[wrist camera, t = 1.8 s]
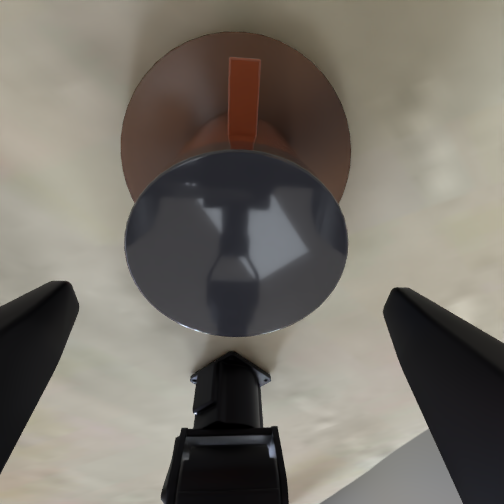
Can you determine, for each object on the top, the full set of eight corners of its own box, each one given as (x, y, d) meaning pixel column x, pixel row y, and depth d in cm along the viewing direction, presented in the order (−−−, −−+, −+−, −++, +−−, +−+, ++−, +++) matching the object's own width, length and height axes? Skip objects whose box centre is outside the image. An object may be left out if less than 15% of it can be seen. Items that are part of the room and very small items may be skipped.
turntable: (383, 178, 18) (391, 183, 17) (234, 287, 23) (234, 295, 22) (245, -47, 12) (246, -57, 11) (80, 162, 17) (72, 167, 16)
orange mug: (288, 230, 19) (323, 338, 11) (183, 227, 18) (143, 337, 10) (313, 70, 14) (408, 62, 6) (169, 59, 13) (71, 35, 6)
